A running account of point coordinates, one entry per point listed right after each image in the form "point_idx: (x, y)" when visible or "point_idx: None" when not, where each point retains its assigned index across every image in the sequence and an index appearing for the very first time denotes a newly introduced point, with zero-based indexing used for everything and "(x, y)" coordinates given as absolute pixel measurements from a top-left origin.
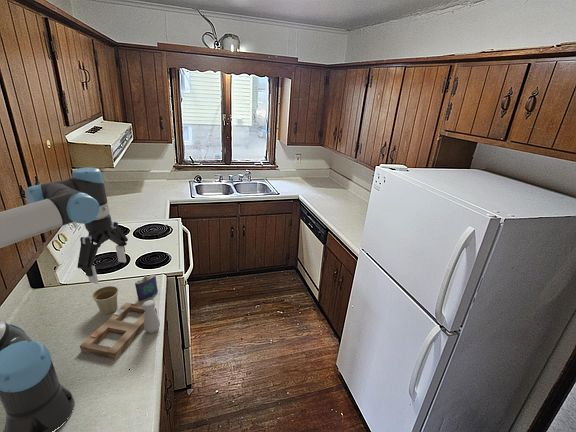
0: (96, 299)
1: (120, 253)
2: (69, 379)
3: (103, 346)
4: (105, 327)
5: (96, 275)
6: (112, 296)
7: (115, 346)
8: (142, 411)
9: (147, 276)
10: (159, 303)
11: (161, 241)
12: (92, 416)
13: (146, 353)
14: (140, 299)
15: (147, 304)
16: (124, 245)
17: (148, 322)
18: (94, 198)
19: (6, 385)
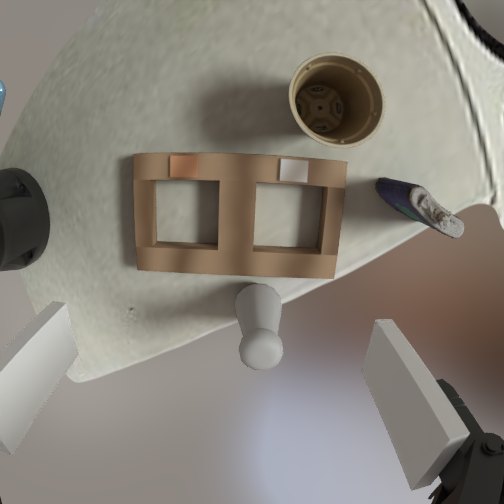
0: (291, 90)
1: (399, 409)
2: (72, 196)
3: (148, 223)
4: (217, 172)
5: (48, 393)
6: (323, 142)
7: (156, 256)
8: (80, 367)
9: (444, 228)
10: (370, 255)
11: None
12: (42, 299)
13: (179, 322)
14: (378, 190)
15: (251, 359)
16: (431, 495)
17: (239, 322)
18: None
19: None
